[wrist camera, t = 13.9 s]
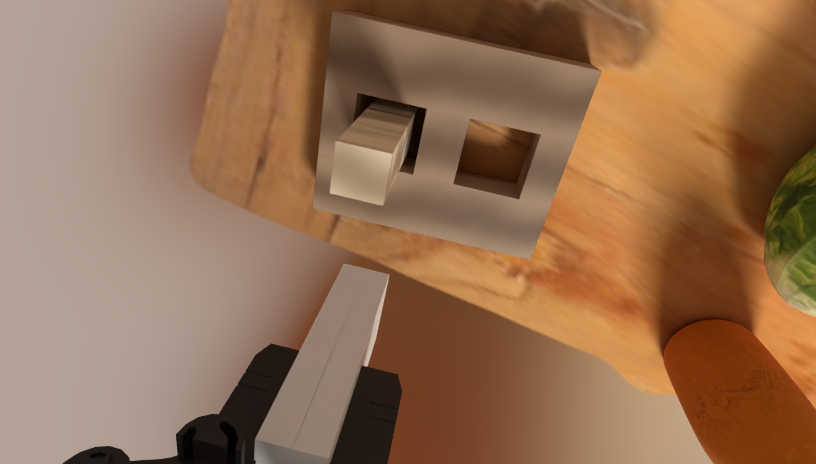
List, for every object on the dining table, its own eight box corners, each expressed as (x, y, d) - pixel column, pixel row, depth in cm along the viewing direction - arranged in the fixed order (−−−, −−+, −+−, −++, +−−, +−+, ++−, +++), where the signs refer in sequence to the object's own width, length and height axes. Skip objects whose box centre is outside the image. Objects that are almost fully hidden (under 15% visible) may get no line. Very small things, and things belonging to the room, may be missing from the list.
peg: (376, 98, 44) (335, 140, 31) (418, 107, 44) (393, 153, 31) (369, 139, 46) (328, 193, 33) (410, 148, 46) (383, 206, 33)
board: (344, 9, 41) (332, 11, 37) (591, 63, 40) (601, 71, 36) (324, 192, 49) (312, 208, 46) (526, 240, 48) (529, 259, 45)
